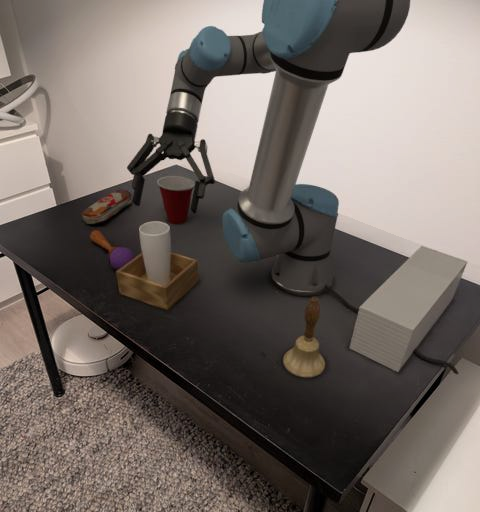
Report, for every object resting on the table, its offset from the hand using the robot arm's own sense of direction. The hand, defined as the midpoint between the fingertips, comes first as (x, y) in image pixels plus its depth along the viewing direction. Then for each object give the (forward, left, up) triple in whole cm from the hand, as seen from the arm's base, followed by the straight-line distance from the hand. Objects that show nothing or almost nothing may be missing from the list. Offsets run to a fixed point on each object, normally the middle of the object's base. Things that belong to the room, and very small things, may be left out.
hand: (164, 207), depth 102 cm
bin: (-1, +6, -18) cm, 19 cm away
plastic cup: (+14, -26, -18) cm, 35 cm away
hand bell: (-41, +14, -18) cm, 47 cm away
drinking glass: (-1, +6, -17) cm, 18 cm away
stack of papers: (-56, -9, -18) cm, 60 cm away
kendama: (+17, +1, -18) cm, 25 cm away
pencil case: (+34, -19, -18) cm, 43 cm away
